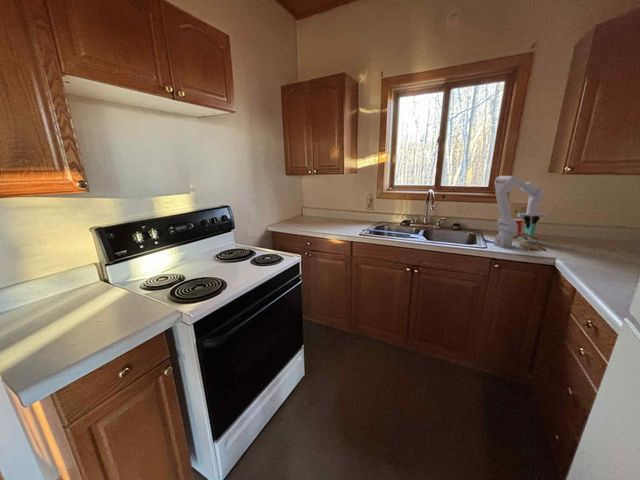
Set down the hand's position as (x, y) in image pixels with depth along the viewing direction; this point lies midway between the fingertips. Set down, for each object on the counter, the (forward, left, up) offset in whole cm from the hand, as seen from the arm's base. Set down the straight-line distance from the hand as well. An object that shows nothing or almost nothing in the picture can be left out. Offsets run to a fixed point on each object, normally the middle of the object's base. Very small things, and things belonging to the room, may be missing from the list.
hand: (529, 228), depth 172 cm
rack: (-10, -10, -10) cm, 17 cm away
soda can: (+12, +16, -10) cm, 23 cm away
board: (0, 0, -4) cm, 4 cm away
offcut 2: (-15, -9, -9) cm, 20 cm away
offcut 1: (-12, -5, -9) cm, 16 cm away
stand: (0, 0, -10) cm, 10 cm away
